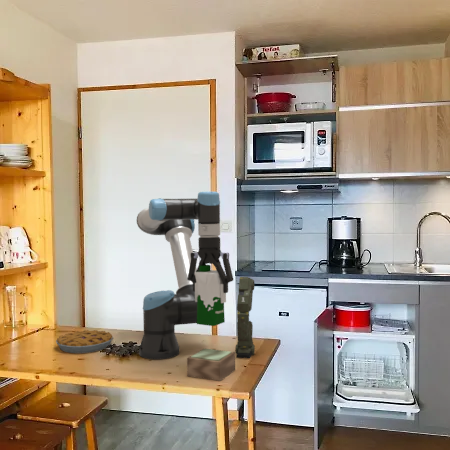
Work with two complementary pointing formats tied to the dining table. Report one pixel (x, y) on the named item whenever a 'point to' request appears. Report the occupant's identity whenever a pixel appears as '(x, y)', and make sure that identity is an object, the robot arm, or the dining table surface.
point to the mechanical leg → (244, 319)
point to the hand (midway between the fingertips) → (210, 301)
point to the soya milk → (209, 297)
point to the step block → (211, 364)
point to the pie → (84, 341)
